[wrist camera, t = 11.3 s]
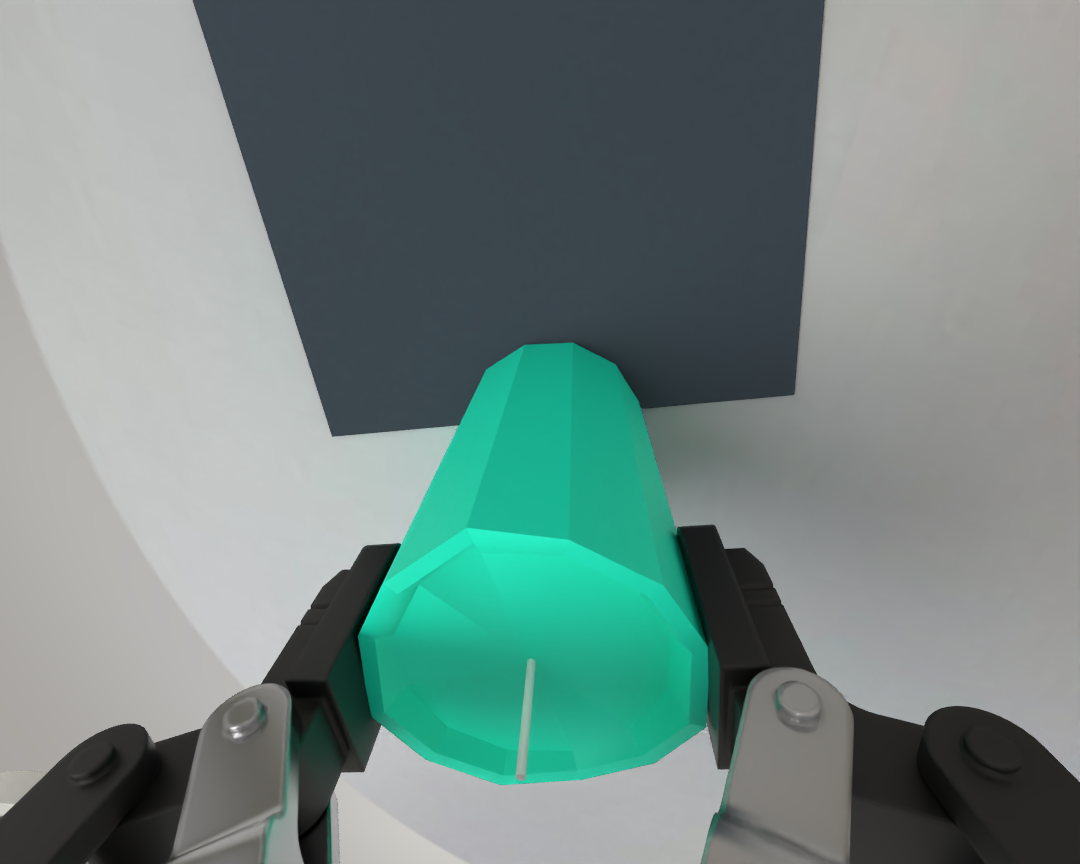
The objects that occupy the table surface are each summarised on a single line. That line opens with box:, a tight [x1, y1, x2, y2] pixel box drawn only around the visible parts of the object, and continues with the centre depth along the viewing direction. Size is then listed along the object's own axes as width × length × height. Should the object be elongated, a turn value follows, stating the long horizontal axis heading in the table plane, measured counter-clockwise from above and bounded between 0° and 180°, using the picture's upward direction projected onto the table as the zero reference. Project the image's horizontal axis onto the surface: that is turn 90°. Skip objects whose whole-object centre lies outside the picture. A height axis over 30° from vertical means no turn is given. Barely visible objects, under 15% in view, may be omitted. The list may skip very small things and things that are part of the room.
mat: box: [193, 0, 824, 437], centre depth 15 cm, size 16×14×1 cm
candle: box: [358, 343, 708, 785], centre depth 13 cm, size 6×6×12 cm
